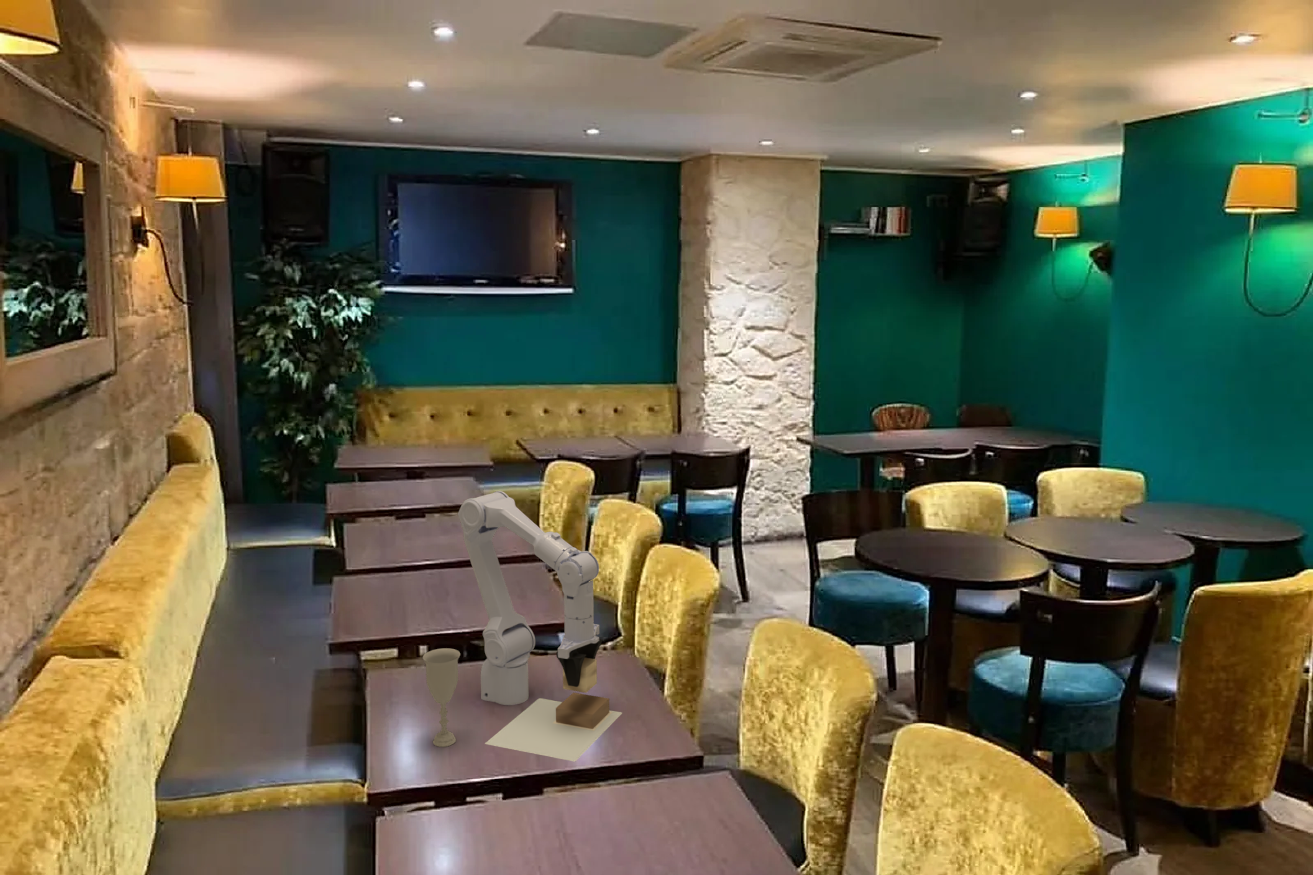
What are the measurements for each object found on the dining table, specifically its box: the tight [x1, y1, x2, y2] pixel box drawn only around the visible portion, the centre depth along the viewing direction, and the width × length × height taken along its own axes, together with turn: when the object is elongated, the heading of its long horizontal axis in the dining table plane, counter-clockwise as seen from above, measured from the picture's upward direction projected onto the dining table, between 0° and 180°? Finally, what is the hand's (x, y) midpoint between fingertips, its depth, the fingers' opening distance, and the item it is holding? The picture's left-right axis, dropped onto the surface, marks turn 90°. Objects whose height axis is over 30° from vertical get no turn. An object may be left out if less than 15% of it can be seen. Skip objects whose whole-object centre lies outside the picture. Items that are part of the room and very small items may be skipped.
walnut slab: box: [556, 691, 610, 729], centre depth 200 cm, size 8×8×3 cm
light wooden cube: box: [562, 658, 598, 694], centre depth 199 cm, size 5×5×5 cm
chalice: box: [422, 647, 461, 748], centre depth 189 cm, size 7×7×18 cm
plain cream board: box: [484, 697, 623, 763], centre depth 196 cm, size 19×22×1 cm
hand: (579, 680), depth 199 cm, fingers closed on light wooden cube, 5 cm apart
